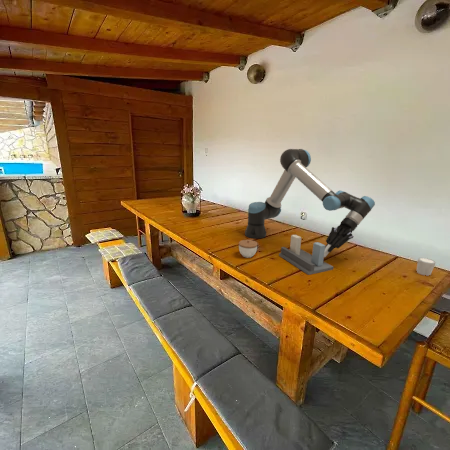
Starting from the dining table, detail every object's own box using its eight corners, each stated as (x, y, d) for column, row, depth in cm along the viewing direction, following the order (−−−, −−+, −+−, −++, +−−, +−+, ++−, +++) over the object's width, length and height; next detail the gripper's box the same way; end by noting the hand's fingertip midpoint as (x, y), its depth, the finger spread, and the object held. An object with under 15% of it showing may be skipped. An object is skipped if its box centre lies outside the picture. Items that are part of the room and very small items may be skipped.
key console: (278, 255, 141) (279, 247, 140) (301, 251, 147) (302, 243, 146) (308, 274, 119) (309, 265, 118) (333, 269, 125) (334, 260, 124)
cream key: (289, 253, 140) (291, 235, 137) (293, 252, 141) (295, 234, 138) (295, 256, 135) (296, 238, 132) (299, 255, 137) (301, 237, 133)
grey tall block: (311, 262, 129) (313, 242, 126) (315, 261, 130) (318, 242, 127) (317, 266, 124) (320, 246, 121) (322, 265, 125) (325, 245, 122)
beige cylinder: (415, 268, 127) (418, 256, 125) (432, 272, 123) (435, 260, 121) (414, 273, 122) (417, 260, 120) (432, 277, 118) (435, 264, 116)
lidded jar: (241, 260, 134) (242, 244, 132) (236, 252, 144) (236, 237, 142) (259, 258, 137) (260, 242, 134) (252, 251, 147) (253, 236, 144)
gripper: (364, 229, 124) (335, 264, 123) (344, 222, 136) (317, 254, 134) (359, 220, 121) (329, 256, 119) (338, 214, 132) (310, 247, 131)
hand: (322, 255), depth 127 cm, fingers closed
